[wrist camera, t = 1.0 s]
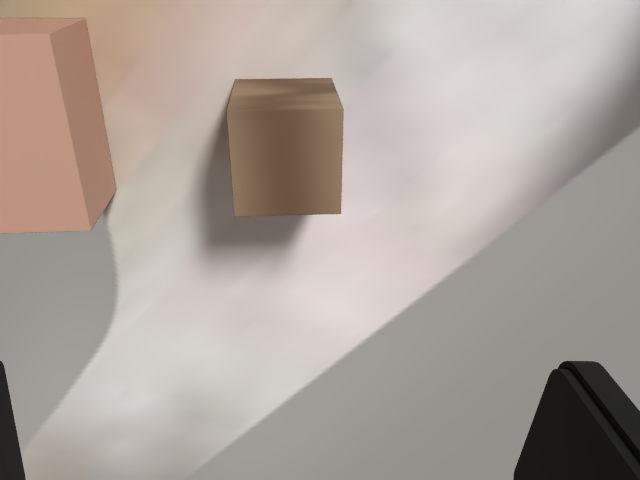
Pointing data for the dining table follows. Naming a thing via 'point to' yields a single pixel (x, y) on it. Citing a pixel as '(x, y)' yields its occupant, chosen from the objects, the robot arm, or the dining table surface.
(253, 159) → the walnut block
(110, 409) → the dining table surface
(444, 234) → the dining table surface
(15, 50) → the base block
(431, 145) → the dining table surface
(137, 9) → the dining table surface
